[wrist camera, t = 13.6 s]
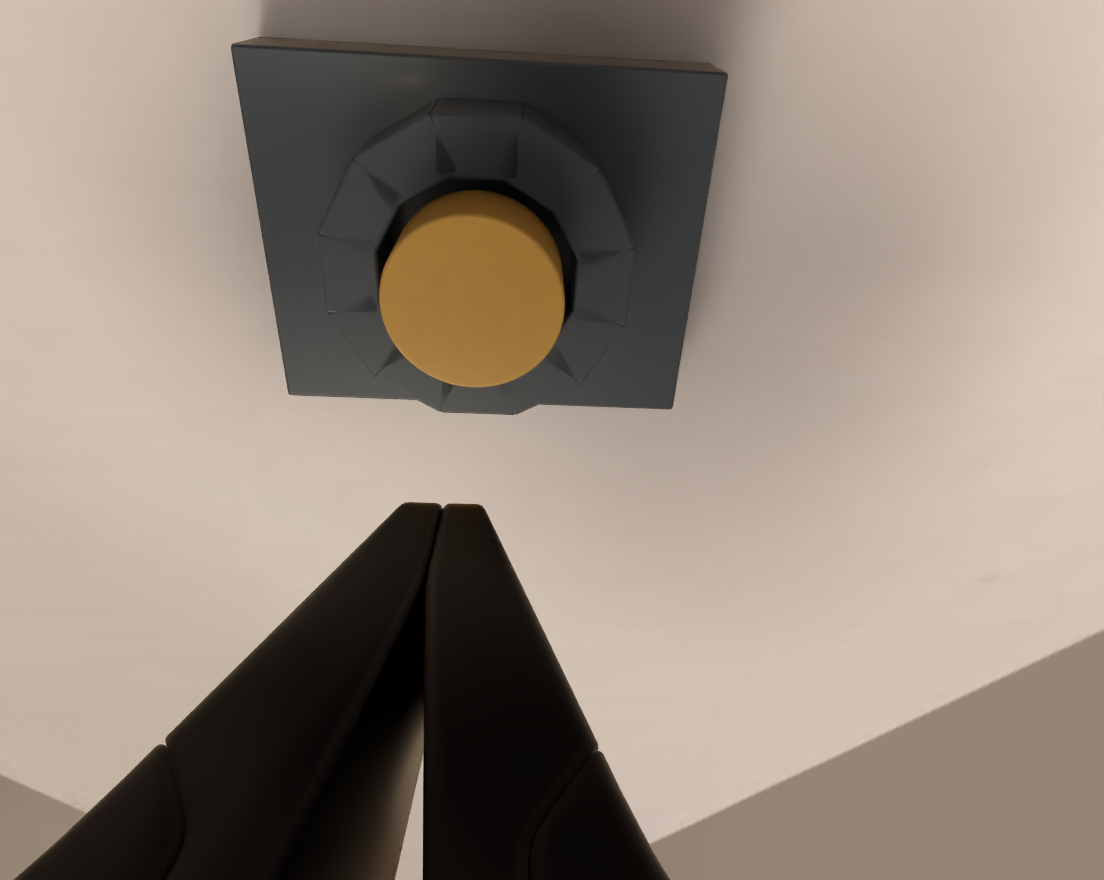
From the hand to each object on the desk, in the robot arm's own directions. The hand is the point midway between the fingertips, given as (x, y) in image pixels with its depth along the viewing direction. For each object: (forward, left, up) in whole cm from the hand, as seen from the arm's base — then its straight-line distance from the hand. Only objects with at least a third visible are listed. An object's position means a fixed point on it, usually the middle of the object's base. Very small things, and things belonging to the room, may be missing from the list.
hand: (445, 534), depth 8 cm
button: (0, 0, -9) cm, 9 cm away
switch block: (0, 0, -12) cm, 12 cm away
